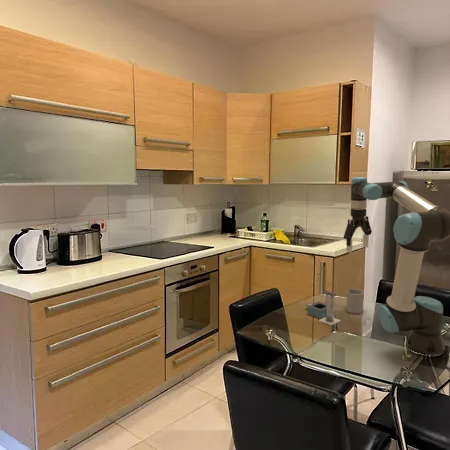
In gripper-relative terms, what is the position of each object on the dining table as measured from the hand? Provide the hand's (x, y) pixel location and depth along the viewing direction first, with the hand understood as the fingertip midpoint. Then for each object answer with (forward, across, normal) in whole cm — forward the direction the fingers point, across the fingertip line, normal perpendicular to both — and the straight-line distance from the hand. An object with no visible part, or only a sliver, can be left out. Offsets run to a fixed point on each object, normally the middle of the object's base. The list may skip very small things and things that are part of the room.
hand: (357, 249), depth 207 cm
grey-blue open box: (+37, +11, -17) cm, 42 cm away
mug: (+37, -7, -7) cm, 38 cm away
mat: (+37, +14, -6) cm, 40 cm away
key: (+36, +14, -6) cm, 39 cm away
